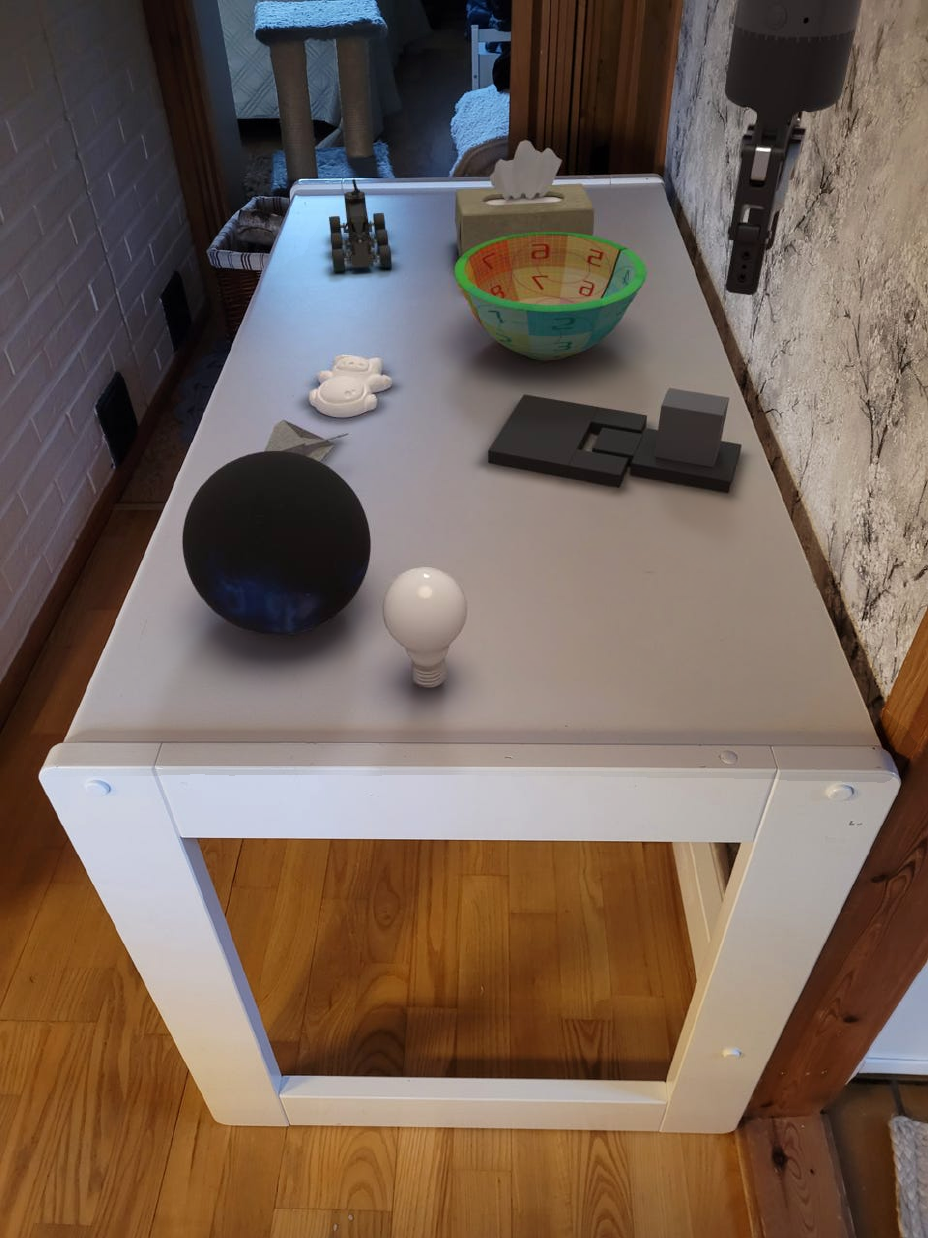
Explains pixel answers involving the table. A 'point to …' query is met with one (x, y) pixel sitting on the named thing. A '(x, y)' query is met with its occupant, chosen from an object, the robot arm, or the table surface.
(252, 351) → the table surface
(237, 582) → the decorative sphere
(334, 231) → the toy vehicle
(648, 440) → the pad
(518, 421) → the notch pad
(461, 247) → the tissue box
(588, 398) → the table surface
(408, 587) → the lightbulb
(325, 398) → the white bear figurine
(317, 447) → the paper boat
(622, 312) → the bowl
